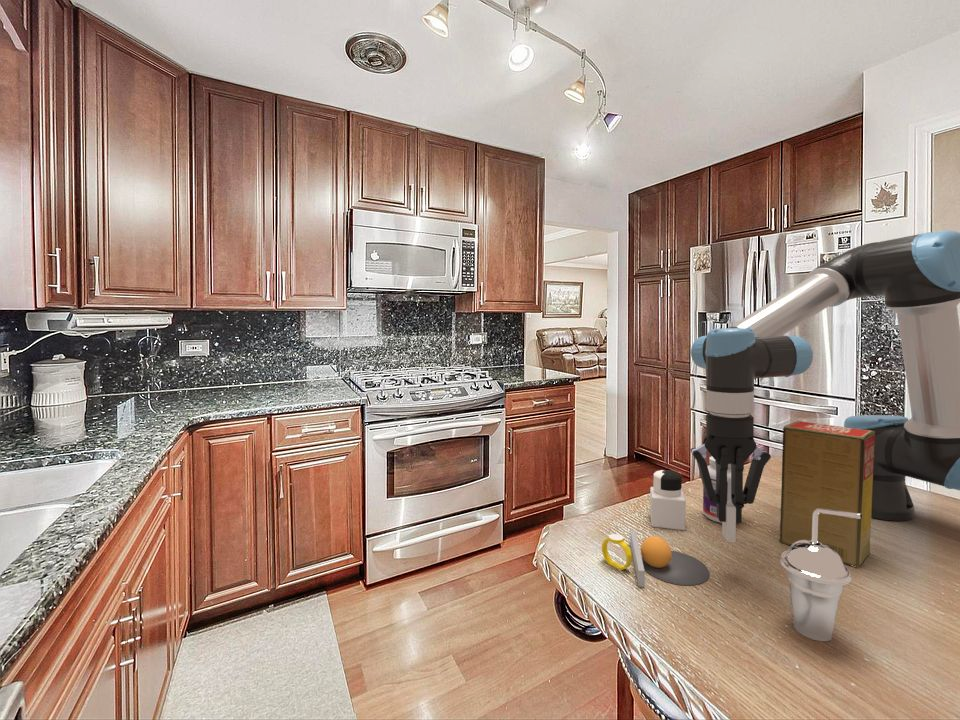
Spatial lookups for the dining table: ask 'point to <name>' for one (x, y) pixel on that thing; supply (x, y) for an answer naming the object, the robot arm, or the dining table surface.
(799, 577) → the cup with straw
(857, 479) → the food packaging
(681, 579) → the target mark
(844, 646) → the dining table surface
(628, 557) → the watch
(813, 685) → the dining table surface
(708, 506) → the pill bottle
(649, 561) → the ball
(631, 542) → the wall
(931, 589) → the dining table surface
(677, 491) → the medicine bottle
